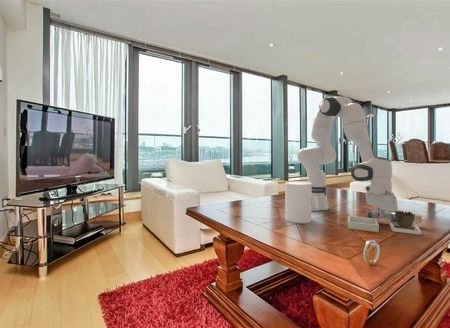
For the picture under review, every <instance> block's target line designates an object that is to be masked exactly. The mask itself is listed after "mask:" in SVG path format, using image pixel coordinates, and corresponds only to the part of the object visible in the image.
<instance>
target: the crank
mask: <svg viewBox="0 0 450 328" xmlns="http://www.w3.org/2000/svg"><path fill="white" fill-rule="evenodd" d="M397 211H398V212H399V211H400V210H397ZM366 217H367V218H376V219H382V220H389V221H391V220H395V221H396V216H395V212H387V211H385V213H384V217H378V216H377V211H376V210H372V209H366ZM422 219H423V217H422V215H420V214H415V217H414V222H413V223H420V224H421V223H423V222H422Z"/></svg>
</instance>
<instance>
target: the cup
mask: <svg viewBox="0 0 450 328" xmlns="http://www.w3.org/2000/svg"><path fill="white" fill-rule="evenodd" d="M398 211H399V212H398ZM415 215H416V214H415V213H413V212H411V211H408V212H407V210H405V211H403V210H397V212H395V216H396V222H397V224H398V225H400V227H399V228H401V229H410V228H409V227H411V226H412V225H413V224H414V223H415V222H414V217H415Z"/></svg>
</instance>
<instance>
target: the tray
mask: <svg viewBox="0 0 450 328" xmlns="http://www.w3.org/2000/svg"><path fill="white" fill-rule="evenodd" d="M347 216H348V217H347V222H348V223H347V229H350V230H358V231H366V232H375V233H376V232H377V233H379V231H380V224H379V221H378V218H367V216H357V215H356V216H355V215H347Z"/></svg>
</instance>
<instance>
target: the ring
mask: <svg viewBox="0 0 450 328" xmlns="http://www.w3.org/2000/svg"><path fill="white" fill-rule="evenodd" d="M376 241H377V240H374V239H368V240H367V241H366V242H365V245H364V249H363V255H362V256H363V260H364V262H365V263H366V264H369V265H372V266H373V265H374V264H376V263H377V261H378V260H379V258H380V253H381V249H380V244H379V243H377V242H376ZM373 248H374V251H375V253H374V258H373V259H372V260H369V259H368V258H369V254H370V253H371V250H372V249H373Z"/></svg>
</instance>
